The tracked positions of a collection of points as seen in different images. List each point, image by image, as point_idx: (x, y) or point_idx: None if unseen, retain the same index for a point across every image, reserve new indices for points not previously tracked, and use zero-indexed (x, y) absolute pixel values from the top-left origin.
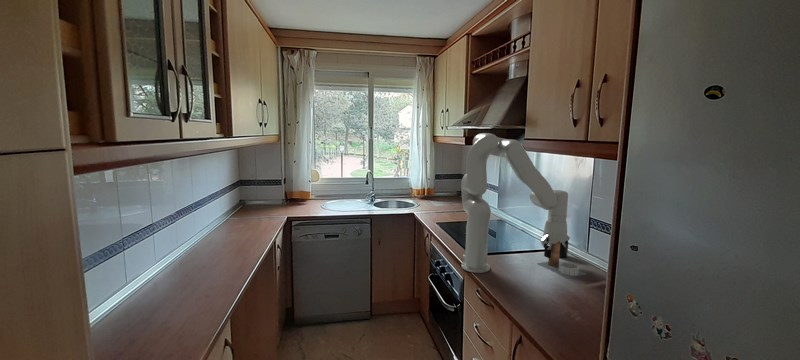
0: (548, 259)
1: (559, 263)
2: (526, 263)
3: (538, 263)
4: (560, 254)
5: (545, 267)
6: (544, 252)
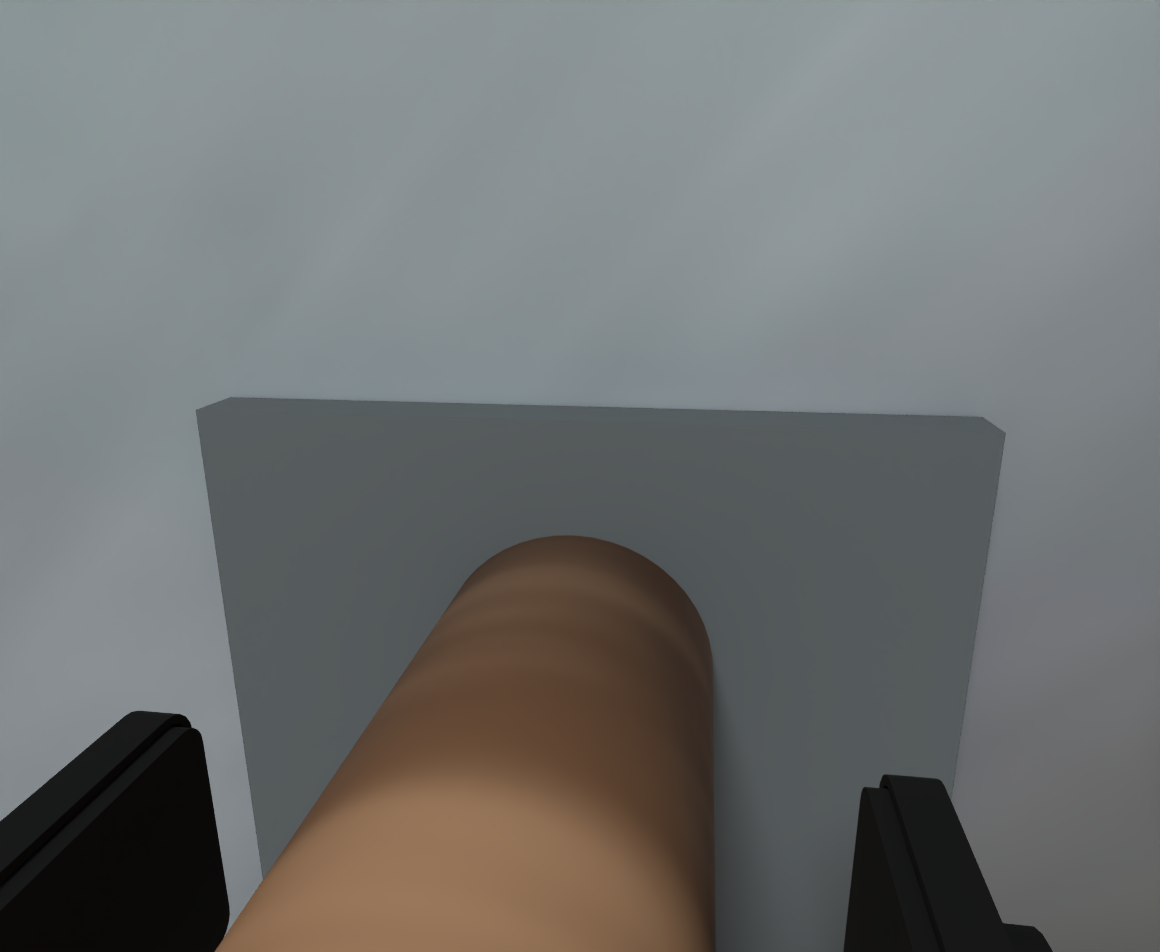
0: (424, 643)
1: (834, 663)
2: (60, 163)
3: (247, 429)
4: (850, 928)
5: (253, 695)
6: (30, 807)
